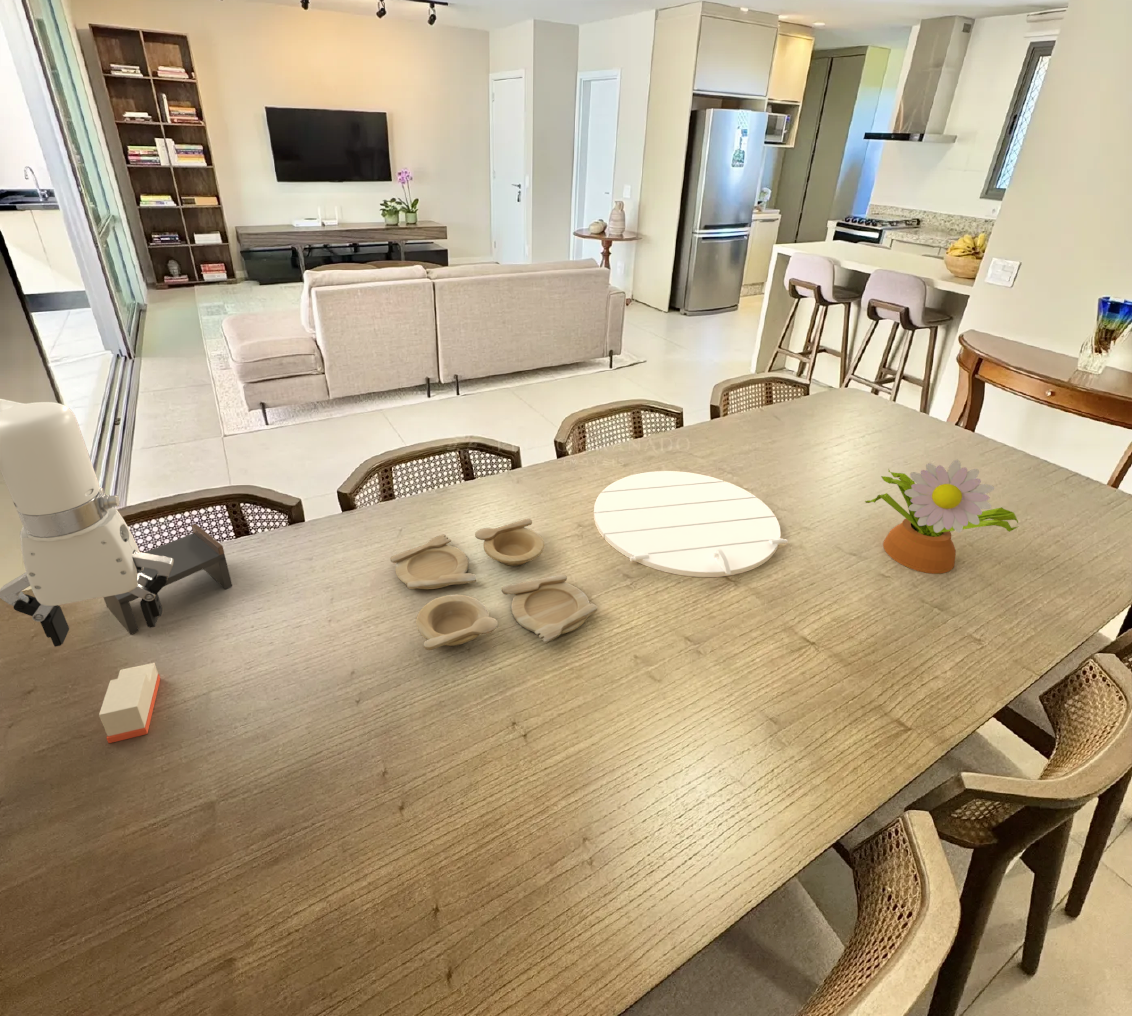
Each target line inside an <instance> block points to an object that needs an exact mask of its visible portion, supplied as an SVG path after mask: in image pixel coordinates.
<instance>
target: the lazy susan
mask: <svg viewBox="0 0 1132 1016" xmlns="http://www.w3.org/2000/svg"><path fill="white" fill-rule="evenodd" d="M593 520H594V524H595V527H596V529H597V531H598V532H599V534H600V535H601V537H602V538H603V539H604V541H606V542H607V544H609V545H610V547H612V549H614V550H616V551H617V552H619V553H620V554H622V555H623V556H625V557H627V558H628V559H629V562H636V563H638V564H640V565H643V566H646V567H648V568H651V569H654V570H657V571H660V572H665V573H668V574H673V575H678V576H685V577H694V578H695V577H696V578H719V577H728V576H734V575H739V574H743V573H747V572H750V571H752V570H754V569H756V568H758V567H760V566H762V565H763V564H765V563H767V562H768V561H769V560H770V559H771V558H772V557H773V556H774V555H775V553H776V551H777V549H778V548H779V546H780V545H787V544H788V543H789V542H788V539H787V538H786V539H784V538H781V534H782V533H781V525H780V523H779V520H778V518H777V517H776V515H775V513H774V511H772V509H771V508H770V507H769V506H768V505H767V504H765V502H764V501H762V499H760V498H759V497H757V496H756V495H754V494H753V493H751V492H749V491H748V490H746V489H744V488H743V487H740V486H738V485H736V484H733V483H732V482H729V481H725V480H724V479H723V480H722V479H720V478H717V477H713V476H710V475H705V474H700V473H695V472H688V471H678V470H677V471H676V470H656V471H645V472H640V473H634V474H631V475H628V476H625V477H622V478H620V479H618V480H615V481H614V482H612V483H610V484H609V485H607V486H606V487H605V488H604V489H603V490H602V491H601V492H600V493H599V494H598V496H597V497H596V500H595V501H594V506H593Z"/></svg>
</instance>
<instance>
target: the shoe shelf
mask: <svg viewBox="0 0 1132 1016" xmlns="http://www.w3.org/2000/svg"><path fill="white" fill-rule="evenodd" d="M191 529H192V533H190V534H187V535H185V536H182V537H180V538H177V539H175V540H172V541H170V542H167V543H165V544H162V545H160V546H158V547H155V548H153V549H150V550H148V551H145V552H144V553H147V554H153V555H158V556H164V557H169V558H172V559H173V560H174V562H173V566H172V569H171V572H170V574H169V577H168V579H167V582H166V584H165V585H164V586H163V588H164V587H166V586H169V585H171V584H173V583H176V582H178V581H180V580H181V579H185V578H186V577H189V576H191V575H193V574H196V573H198V572H201V571H202V570H203V571H205V572H206V573H207V575H209V576H210V577H211V578H212V579H213V580H215V581H216V582H217V583H218V584H219V585H220V587H223V589H224V590H227V589H230V588H231V587H233V583H232V579H231V574H230V571H229V567H228V562H227V559H226V555H225V549H224V546H223V545H222V544H221V543H220V542H219V541H217V539H215V538H214V537H213V536H211V535H210V534H209V533H208V532H207V531H205V530H204V529H203V527H201V526H199V525H198V524H197V523H194V524H191ZM140 572H141V573H143V574H145V575H147V576H149V577H151V578H154V576H155V575H156V574H157V573H158V571H157V570H155V569H150V568H144V569H143V571H140ZM102 598H103V600H104V603H105V606H106V608H107V609H108V610H109V611H110V612H111V613H112V615H113V616H114V617H115V618H116V619H117V621H118V622H119V623H120V624H121V625H122V626H123V628H124V629H125V630H126V631H127V632H128V634H129V635H130V636H131V635H133V634H136V633H137V632H139V627H138V624H137V621H136V619H135V616H134V612H133V610H132V607H131V604H130V602H132V601H135V600H137V599H139V597H137V596H135V595H133V594H131V593H129V592H126V593H123V594H118V595H113V596H107V597H102Z"/></svg>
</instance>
